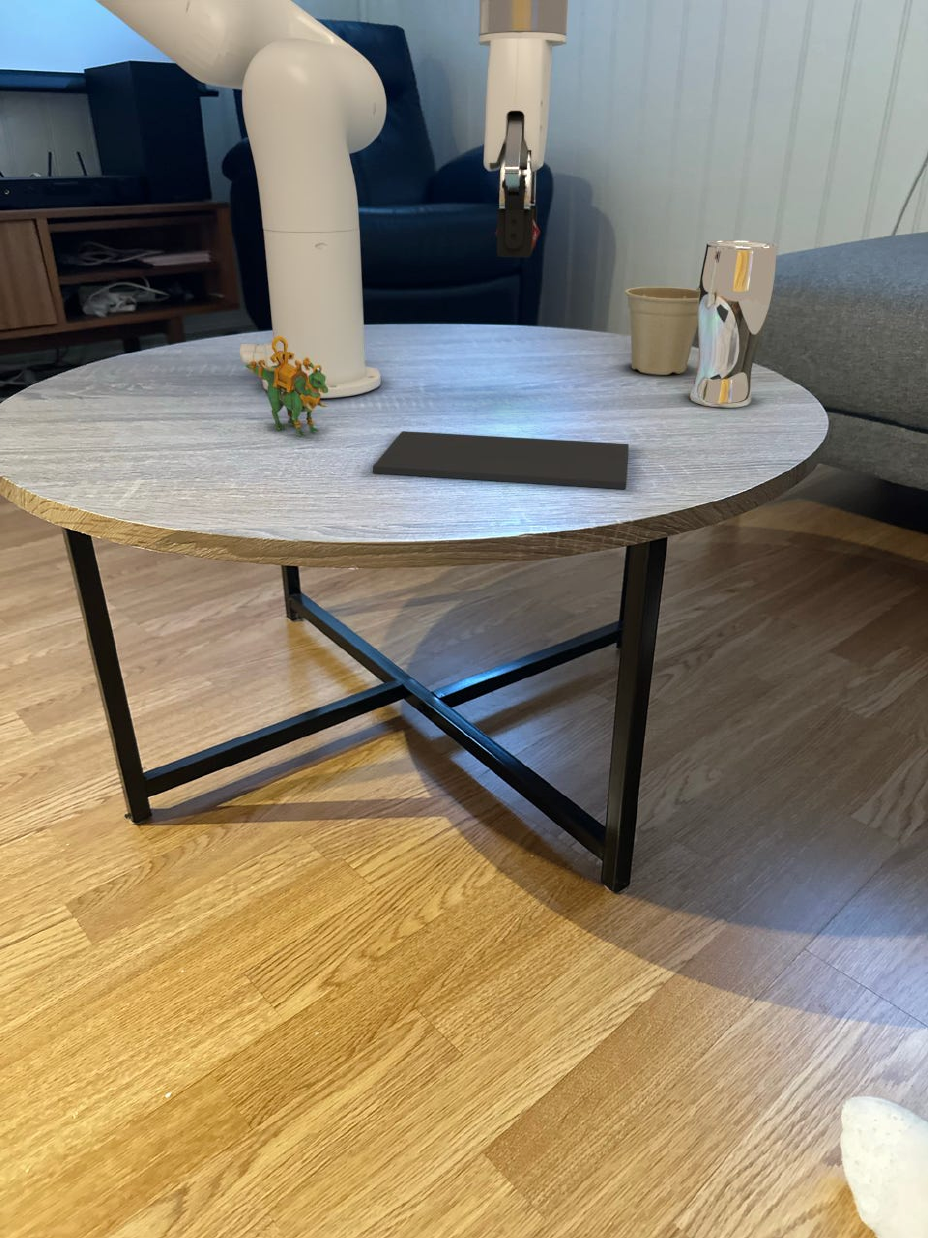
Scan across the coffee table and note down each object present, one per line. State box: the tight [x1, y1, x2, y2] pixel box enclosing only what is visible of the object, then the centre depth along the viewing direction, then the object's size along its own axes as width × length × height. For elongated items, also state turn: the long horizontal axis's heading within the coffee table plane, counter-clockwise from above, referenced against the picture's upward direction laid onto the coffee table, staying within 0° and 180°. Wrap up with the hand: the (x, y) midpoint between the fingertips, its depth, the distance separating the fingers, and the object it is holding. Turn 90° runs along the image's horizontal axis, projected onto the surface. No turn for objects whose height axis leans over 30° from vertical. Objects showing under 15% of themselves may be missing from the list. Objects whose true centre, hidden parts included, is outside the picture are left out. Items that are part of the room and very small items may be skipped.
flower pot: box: [624, 286, 699, 376], centre depth 103 cm, size 9×9×9 cm
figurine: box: [244, 336, 329, 437], centre depth 82 cm, size 3×12×8 cm, turn 46°
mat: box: [372, 430, 630, 490], centre depth 75 cm, size 20×10×1 cm, turn 80°
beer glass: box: [689, 239, 778, 409], centre depth 90 cm, size 7×7×15 cm
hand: (516, 251), depth 86 cm, fingers closed on dice, 4 cm apart
